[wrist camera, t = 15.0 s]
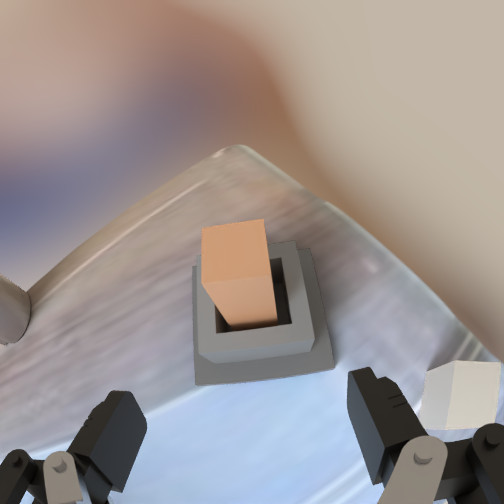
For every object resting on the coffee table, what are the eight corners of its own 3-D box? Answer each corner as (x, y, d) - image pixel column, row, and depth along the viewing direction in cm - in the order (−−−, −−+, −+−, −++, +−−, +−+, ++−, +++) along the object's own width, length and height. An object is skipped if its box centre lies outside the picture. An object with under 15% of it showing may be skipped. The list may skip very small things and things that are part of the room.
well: (333, 369, 24) (345, 358, 19) (198, 385, 25) (175, 379, 20) (309, 253, 31) (312, 219, 26) (195, 270, 32) (177, 241, 27)
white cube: (415, 428, 19) (444, 429, 14) (425, 371, 22) (454, 359, 17) (461, 427, 18) (494, 425, 13) (469, 373, 21) (501, 362, 16)
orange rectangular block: (279, 331, 26) (271, 274, 16) (237, 336, 26) (201, 283, 16) (274, 293, 28) (263, 218, 18) (234, 298, 28) (201, 228, 18)
